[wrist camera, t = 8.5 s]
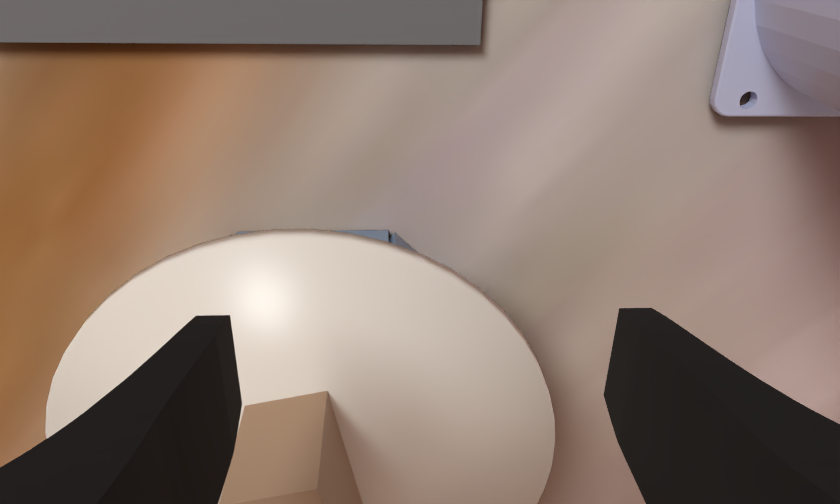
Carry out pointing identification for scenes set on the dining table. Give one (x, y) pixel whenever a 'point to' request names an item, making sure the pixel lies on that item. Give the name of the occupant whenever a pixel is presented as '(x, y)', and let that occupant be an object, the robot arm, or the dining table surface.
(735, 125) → the dining table surface
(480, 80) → the dining table surface
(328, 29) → the mat
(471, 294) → the cover
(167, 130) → the dining table surface
